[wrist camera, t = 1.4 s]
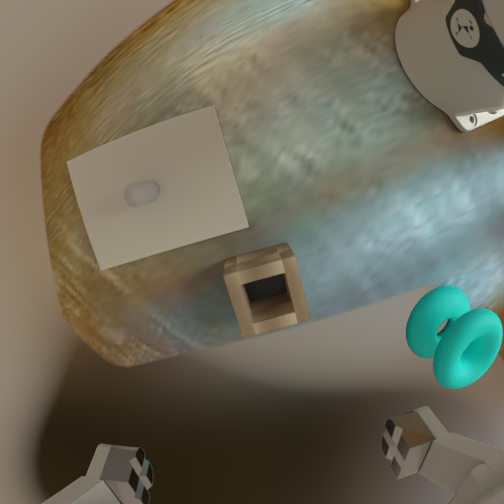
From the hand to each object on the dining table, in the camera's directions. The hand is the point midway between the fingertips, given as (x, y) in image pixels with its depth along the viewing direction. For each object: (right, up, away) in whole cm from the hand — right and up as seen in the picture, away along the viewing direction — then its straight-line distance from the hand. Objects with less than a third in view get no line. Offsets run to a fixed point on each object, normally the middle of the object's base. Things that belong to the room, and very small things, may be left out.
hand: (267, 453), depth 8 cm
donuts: (+23, -2, +27) cm, 36 cm away
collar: (+1, +4, +24) cm, 24 cm away
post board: (-10, +13, +21) cm, 27 cm away
